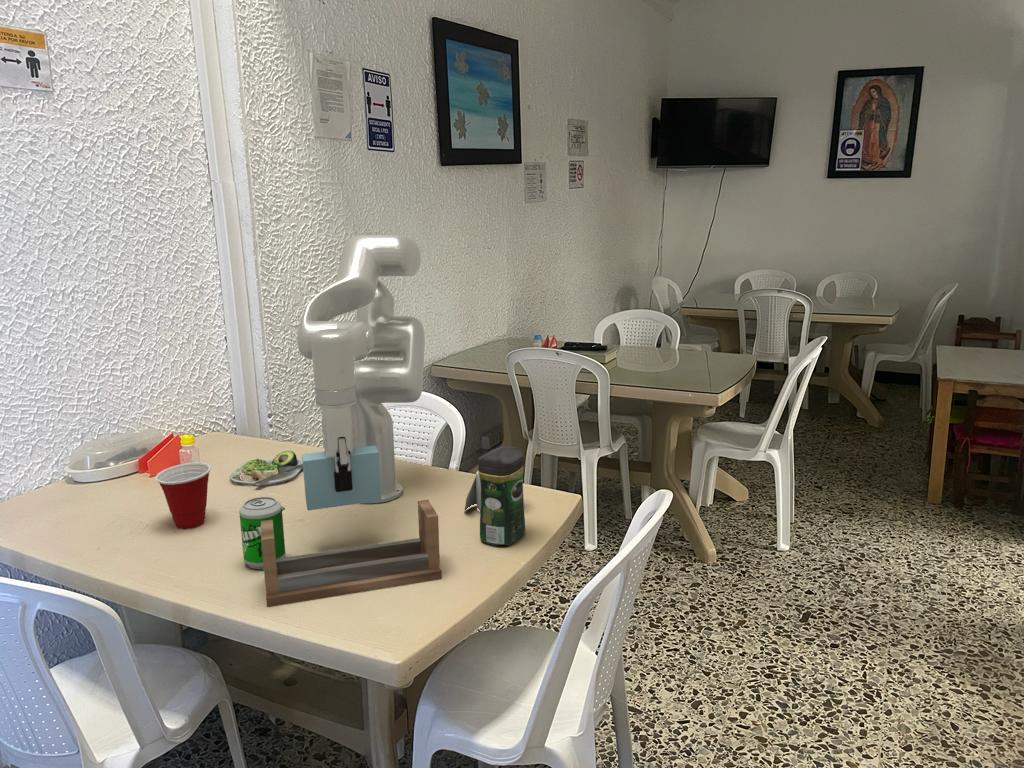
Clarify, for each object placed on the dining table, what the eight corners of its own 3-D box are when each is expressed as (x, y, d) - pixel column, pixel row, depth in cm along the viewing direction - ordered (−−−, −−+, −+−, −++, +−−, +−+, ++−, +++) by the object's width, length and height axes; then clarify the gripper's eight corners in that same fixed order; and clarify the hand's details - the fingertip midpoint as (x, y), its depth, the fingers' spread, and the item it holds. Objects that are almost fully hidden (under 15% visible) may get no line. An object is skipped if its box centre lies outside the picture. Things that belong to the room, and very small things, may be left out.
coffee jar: (497, 525, 159) (495, 440, 155) (530, 532, 156) (530, 446, 152) (472, 542, 151) (471, 453, 147) (507, 551, 148) (506, 460, 143)
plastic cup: (152, 524, 161) (145, 471, 158) (202, 510, 169) (196, 458, 166) (174, 539, 154) (168, 483, 151) (225, 523, 161) (220, 469, 159)
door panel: (306, 502, 148) (301, 454, 145) (378, 492, 152) (375, 445, 149) (307, 510, 144) (303, 461, 141) (381, 500, 148) (378, 452, 146)
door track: (265, 577, 138) (260, 518, 135) (428, 552, 147) (426, 497, 144) (267, 606, 127) (261, 543, 125) (441, 578, 137) (440, 518, 134)
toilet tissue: (455, 513, 166) (454, 476, 164) (500, 497, 174) (500, 462, 173) (482, 526, 159) (481, 487, 157) (527, 509, 168) (527, 472, 166)
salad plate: (291, 492, 180) (289, 473, 179) (216, 491, 181) (214, 473, 180) (315, 465, 199) (313, 448, 198) (247, 464, 199) (246, 447, 198)
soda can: (271, 549, 149) (266, 492, 146) (294, 560, 144) (289, 501, 141) (236, 563, 143) (230, 503, 140) (258, 575, 138) (253, 513, 136)
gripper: (311, 385, 149) (319, 473, 154) (319, 409, 134) (326, 505, 138) (350, 382, 151) (356, 468, 156) (362, 405, 136) (368, 500, 141)
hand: (342, 485), depth 147 cm, fingers closed on door panel, 4 cm apart
